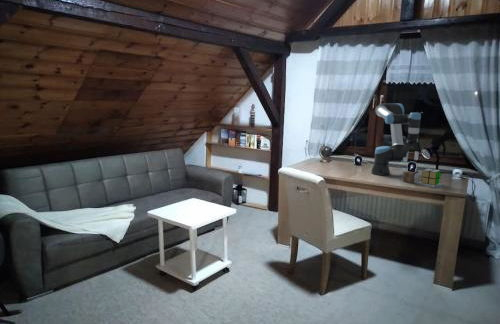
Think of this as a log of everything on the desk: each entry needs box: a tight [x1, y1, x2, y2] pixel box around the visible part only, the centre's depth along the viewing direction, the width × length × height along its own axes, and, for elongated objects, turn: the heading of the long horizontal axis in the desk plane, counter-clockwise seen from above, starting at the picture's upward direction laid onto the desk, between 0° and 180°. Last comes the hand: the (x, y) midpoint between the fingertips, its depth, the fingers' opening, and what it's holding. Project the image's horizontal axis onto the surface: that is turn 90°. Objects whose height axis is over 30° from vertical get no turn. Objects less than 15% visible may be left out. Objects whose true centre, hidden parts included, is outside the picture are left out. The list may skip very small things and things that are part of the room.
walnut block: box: [402, 170, 416, 185], centre depth 276 cm, size 6×6×8 cm
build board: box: [416, 181, 446, 189], centre depth 270 cm, size 14×14×1 cm
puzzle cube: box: [420, 168, 442, 185], centre depth 269 cm, size 10×10×10 cm
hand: (410, 160), depth 273 cm, fingers open, 13 cm apart
